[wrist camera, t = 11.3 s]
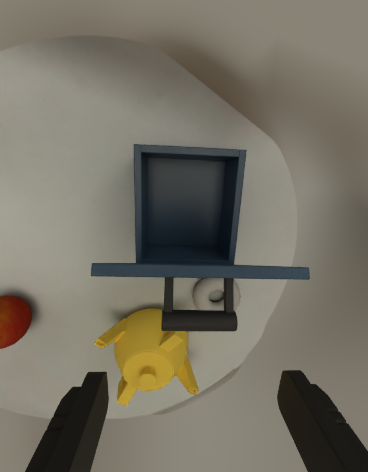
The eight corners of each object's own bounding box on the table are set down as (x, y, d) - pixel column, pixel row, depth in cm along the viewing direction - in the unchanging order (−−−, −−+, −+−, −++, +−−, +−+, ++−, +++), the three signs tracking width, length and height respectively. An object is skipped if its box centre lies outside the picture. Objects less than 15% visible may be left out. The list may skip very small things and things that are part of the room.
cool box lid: (91, 263, 15) (85, 342, 14) (309, 267, 16) (313, 341, 15) (135, 263, 34) (133, 297, 33) (234, 264, 35) (234, 298, 34)
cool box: (142, 151, 38) (133, 144, 30) (230, 156, 39) (246, 149, 30) (143, 247, 43) (135, 264, 34) (221, 249, 44) (233, 266, 35)
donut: (199, 266, 45) (186, 307, 47) (202, 273, 41) (187, 317, 44) (244, 277, 46) (229, 317, 48) (249, 284, 43) (233, 327, 45)
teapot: (184, 295, 46) (188, 334, 35) (195, 357, 51) (201, 409, 39) (108, 307, 46) (86, 351, 34) (125, 368, 50) (111, 424, 39)
